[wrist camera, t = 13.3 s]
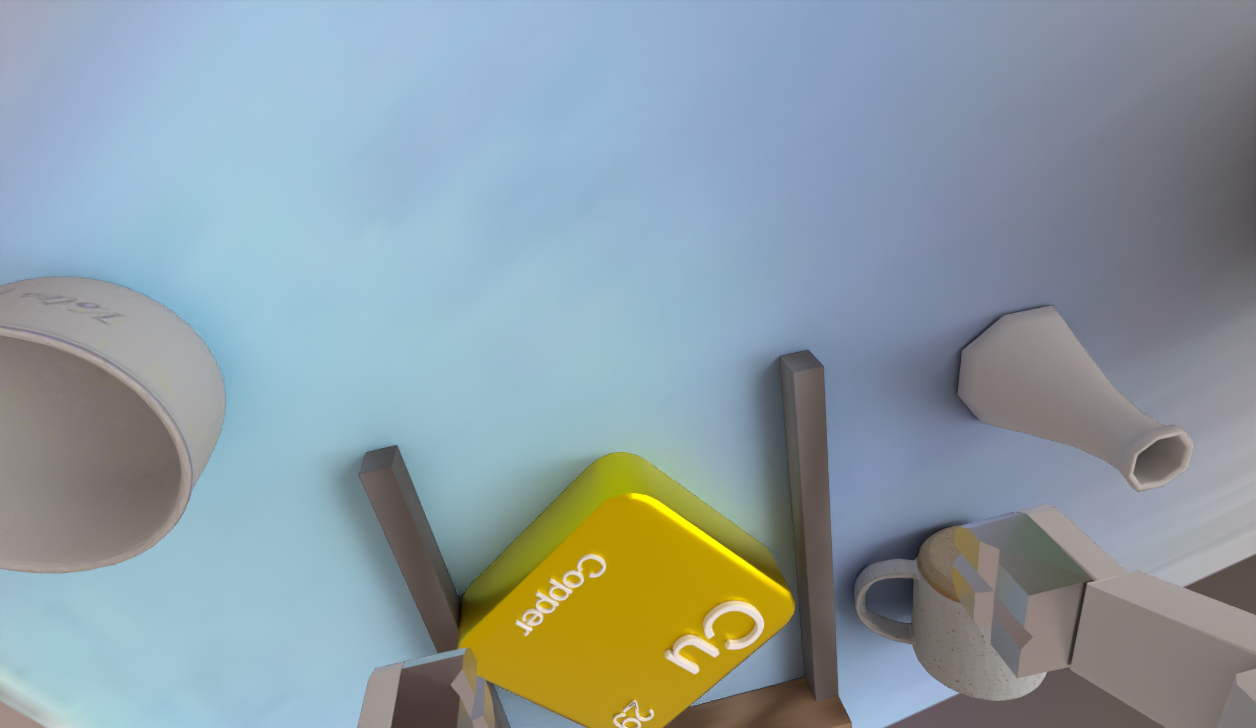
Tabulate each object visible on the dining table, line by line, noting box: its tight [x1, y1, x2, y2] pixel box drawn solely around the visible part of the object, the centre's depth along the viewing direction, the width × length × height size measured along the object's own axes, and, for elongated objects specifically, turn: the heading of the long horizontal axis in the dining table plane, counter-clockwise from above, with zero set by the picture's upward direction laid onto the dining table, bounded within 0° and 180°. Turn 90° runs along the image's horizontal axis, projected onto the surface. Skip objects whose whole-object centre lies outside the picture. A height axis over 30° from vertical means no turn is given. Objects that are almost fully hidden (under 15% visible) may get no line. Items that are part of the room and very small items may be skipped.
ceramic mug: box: [854, 525, 1046, 701], centre depth 42 cm, size 11×8×8 cm
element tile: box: [457, 452, 795, 728], centre depth 40 cm, size 15×15×5 cm
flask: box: [958, 305, 1194, 492], centre depth 34 cm, size 7×7×10 cm
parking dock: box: [359, 350, 852, 728], centre depth 41 cm, size 24×30×4 cm
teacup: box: [0, 277, 226, 573], centre depth 28 cm, size 14×11×8 cm
